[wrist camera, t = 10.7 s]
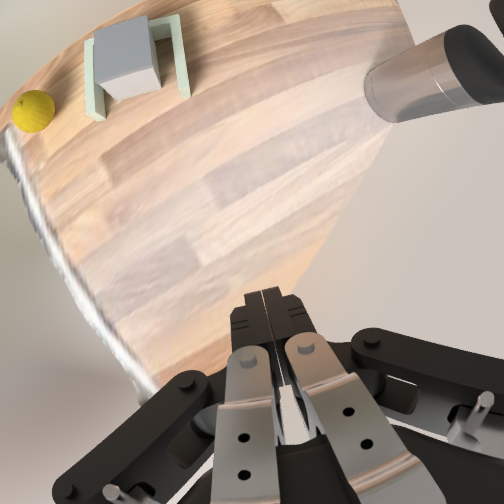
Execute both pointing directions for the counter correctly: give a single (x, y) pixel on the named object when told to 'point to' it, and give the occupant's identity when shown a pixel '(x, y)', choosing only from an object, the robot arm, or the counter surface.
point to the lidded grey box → (126, 59)
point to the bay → (159, 30)
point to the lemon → (33, 111)
